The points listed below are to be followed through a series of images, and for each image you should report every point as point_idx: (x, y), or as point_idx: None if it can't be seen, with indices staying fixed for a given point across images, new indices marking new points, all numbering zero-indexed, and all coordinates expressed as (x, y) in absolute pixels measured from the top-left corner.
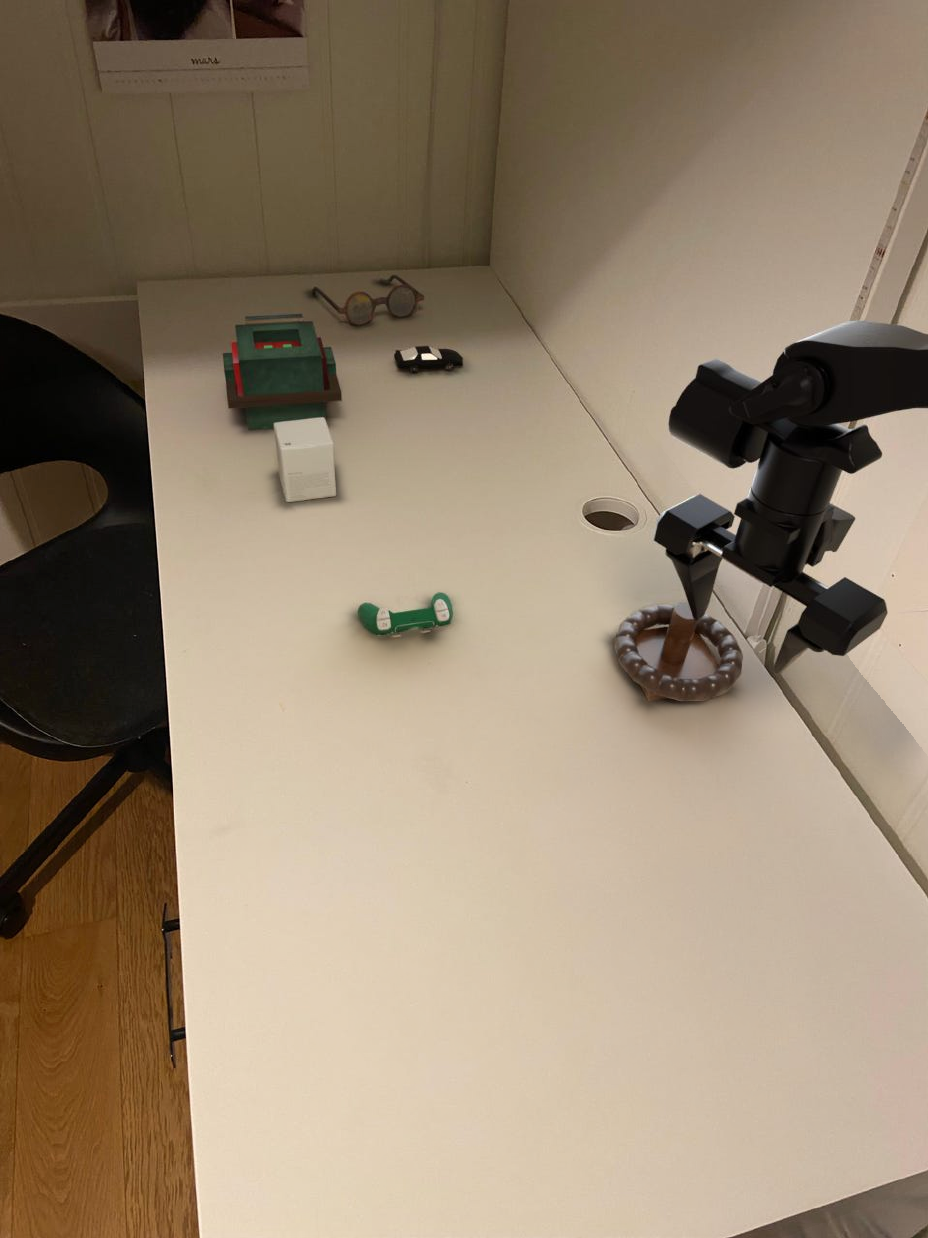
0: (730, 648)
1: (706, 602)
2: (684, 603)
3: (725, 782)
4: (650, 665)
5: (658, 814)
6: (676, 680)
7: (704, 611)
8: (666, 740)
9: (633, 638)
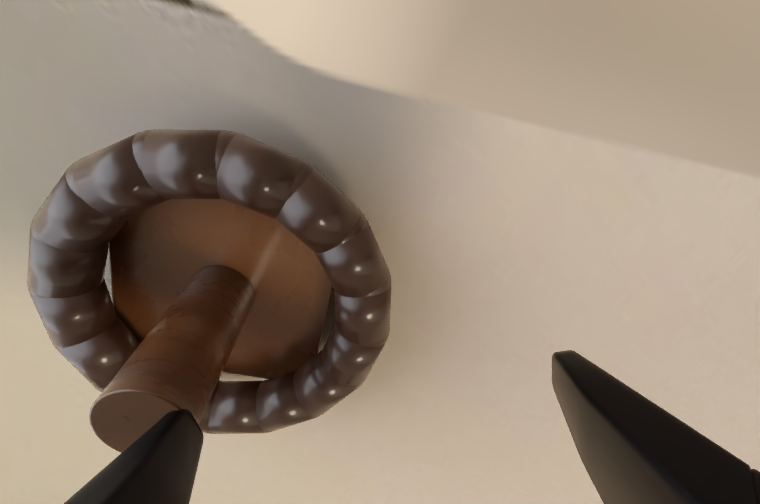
0: (274, 208)
1: (151, 483)
2: (99, 418)
3: (535, 351)
4: (236, 349)
5: (513, 455)
6: (329, 395)
7: (177, 434)
8: (408, 384)
9: None
